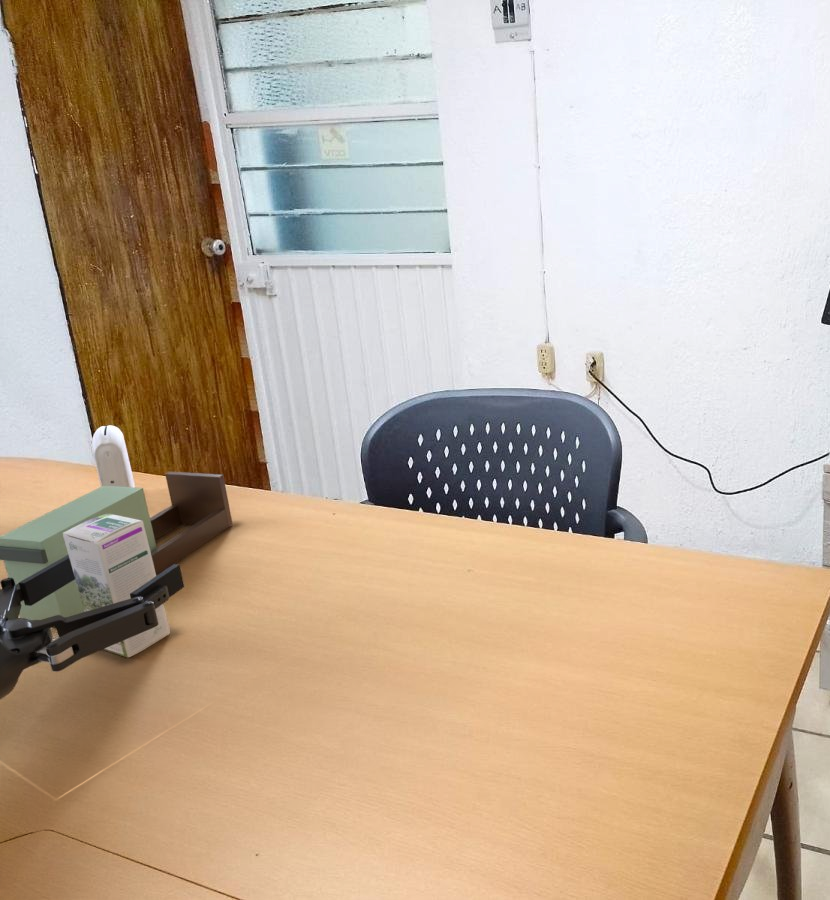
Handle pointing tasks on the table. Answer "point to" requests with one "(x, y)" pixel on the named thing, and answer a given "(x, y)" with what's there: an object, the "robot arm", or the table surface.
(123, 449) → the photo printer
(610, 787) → the table surface
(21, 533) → the container
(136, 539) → the syrup box
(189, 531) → the rack
